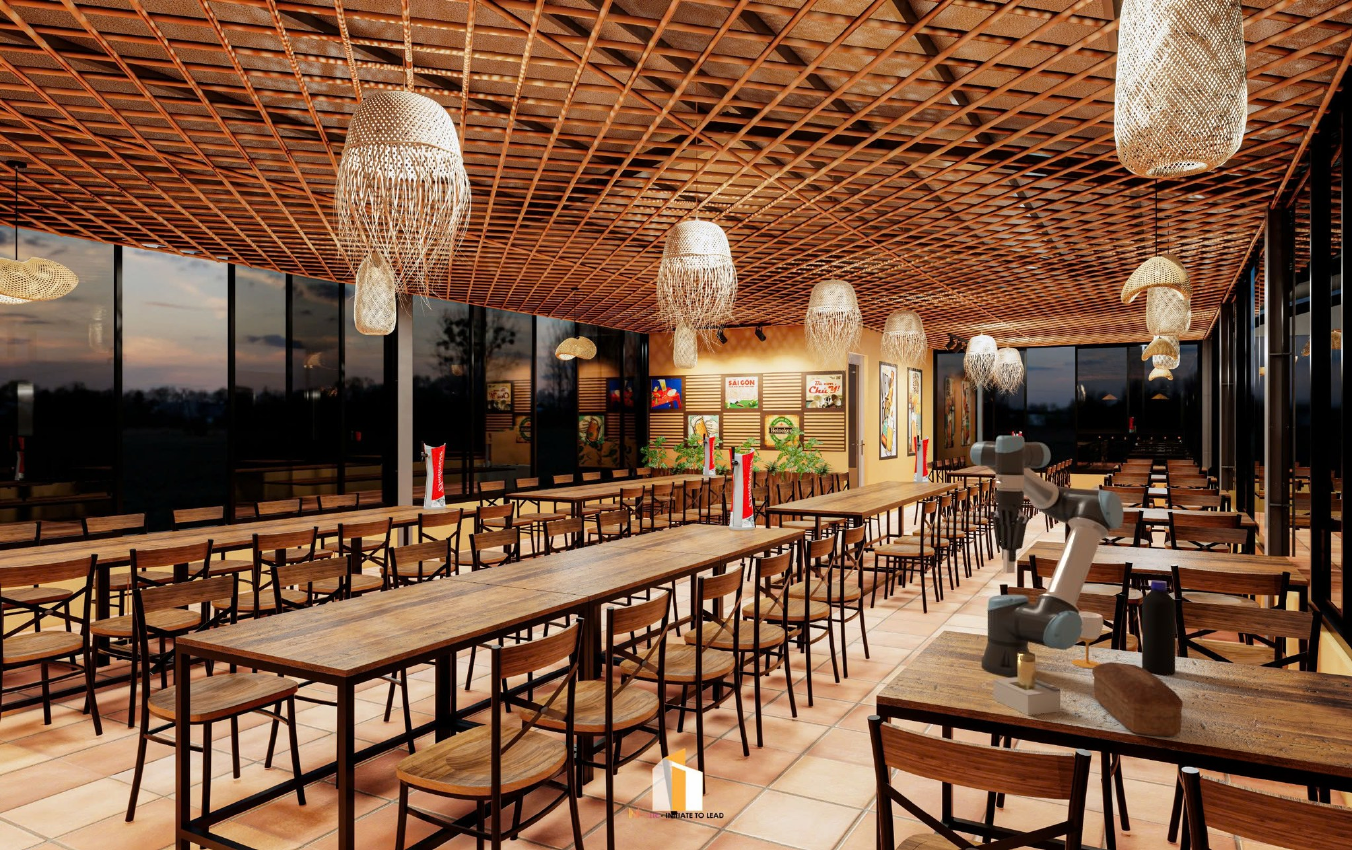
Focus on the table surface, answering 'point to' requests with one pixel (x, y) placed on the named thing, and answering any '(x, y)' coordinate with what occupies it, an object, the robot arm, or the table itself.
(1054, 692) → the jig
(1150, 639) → the bottle
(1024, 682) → the golden cylinder
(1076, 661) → the cup
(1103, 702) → the bread
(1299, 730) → the table surface
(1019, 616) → the robot arm
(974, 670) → the table surface
